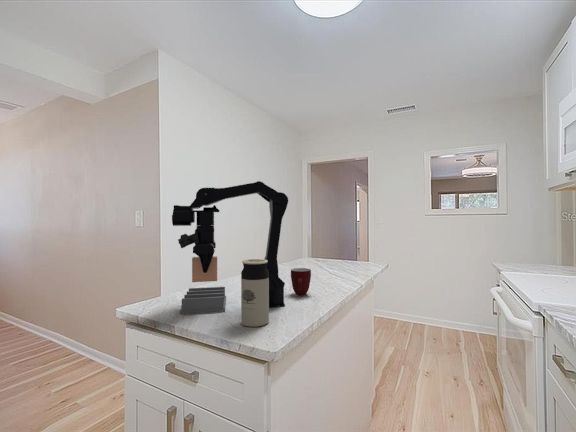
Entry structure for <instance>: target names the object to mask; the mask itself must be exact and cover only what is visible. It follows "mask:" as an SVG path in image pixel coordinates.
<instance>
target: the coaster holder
mask: <svg viewBox="0 0 576 432" xmlns="http://www.w3.org/2000/svg"><path fill="white" fill-rule="evenodd" d="M226 305H227V295H226V287H225V286H211V287H210V286H209V287H208V286H207V287H189V288H188V290H187V291H186V294H184V297H183V298H181V308H180V309H179V315H193V314H194V315H195V314H207V313H208V314H209V313H210V314H212V313H226Z"/></svg>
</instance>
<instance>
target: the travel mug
mask: <svg viewBox="0 0 576 432" xmlns="http://www.w3.org/2000/svg"><path fill="white" fill-rule="evenodd" d="M264 259H265V258H264ZM264 259H262V258H261V259H260V258H251V259H250V258H249V259H243V260H242V261H241V263H242V266H243V268H242V270H241V272H240V279H241V280H240V282H241V283H240V284H241V287H240V289H241V291H240V293H241V295H240V298H241V302H240V303H241V305H240V306H241V309H240V310H241V313H240V315H241V317H240V321H241V324H242V325H244V326H245V327H250V328H257V327H262V326H265V325H267V324H269V322H270V307H269V271H268V269H267V267H266V266H267V262H268V261H267V260H264Z"/></svg>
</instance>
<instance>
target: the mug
mask: <svg viewBox="0 0 576 432" xmlns="http://www.w3.org/2000/svg"><path fill="white" fill-rule="evenodd" d="M311 278H312V270H311V269H310V268H306V267H304V268H303V267H298V268H292V269H290V280H291V285H292V286H291V287H292V290H293V291H294V294H295V295H296V296H297V295H298V297H304V295H305V296H306V295H307V293H308V292H309V290H310V286H311V285H310V284H311Z"/></svg>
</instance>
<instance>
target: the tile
mask: <svg viewBox="0 0 576 432" xmlns="http://www.w3.org/2000/svg"><path fill="white" fill-rule="evenodd" d="M191 278H192V279H191V283H204V282H207V283H208V282H209V283H210V282H218V256H214V255H213V257H212V260H211V263H210V265H209V268H208V271H207V273H203V269H202V264H201V260H200V257H199V256H192V258H191Z"/></svg>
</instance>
